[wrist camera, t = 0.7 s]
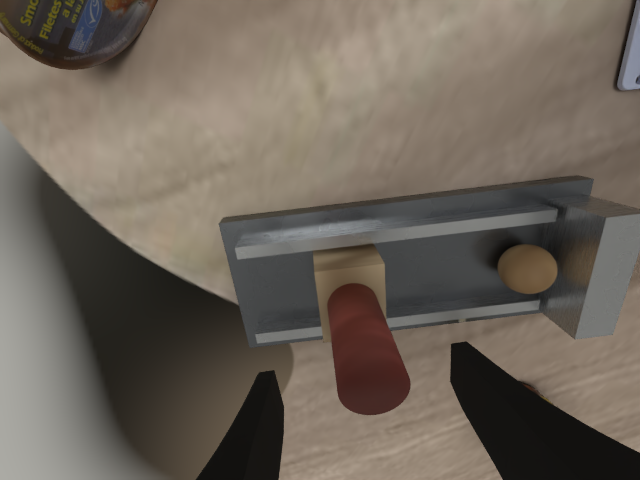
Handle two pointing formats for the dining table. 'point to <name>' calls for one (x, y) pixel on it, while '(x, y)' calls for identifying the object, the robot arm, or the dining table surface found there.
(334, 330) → the press slider
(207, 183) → the dining table surface
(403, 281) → the base
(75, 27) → the tin
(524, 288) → the nut
